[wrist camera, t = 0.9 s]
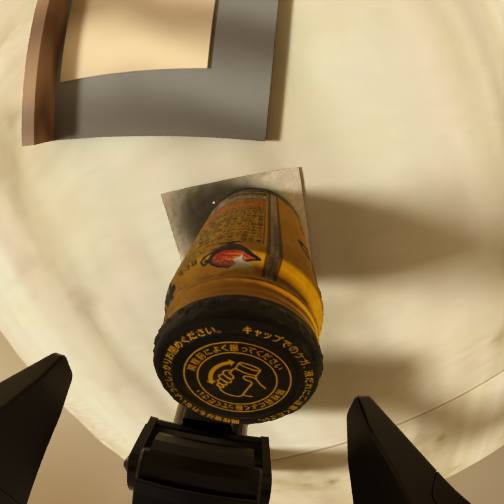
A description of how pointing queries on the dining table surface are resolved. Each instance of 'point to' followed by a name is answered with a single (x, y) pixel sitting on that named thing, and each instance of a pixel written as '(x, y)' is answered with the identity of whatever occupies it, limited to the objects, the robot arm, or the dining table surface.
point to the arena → (148, 69)
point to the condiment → (241, 300)
